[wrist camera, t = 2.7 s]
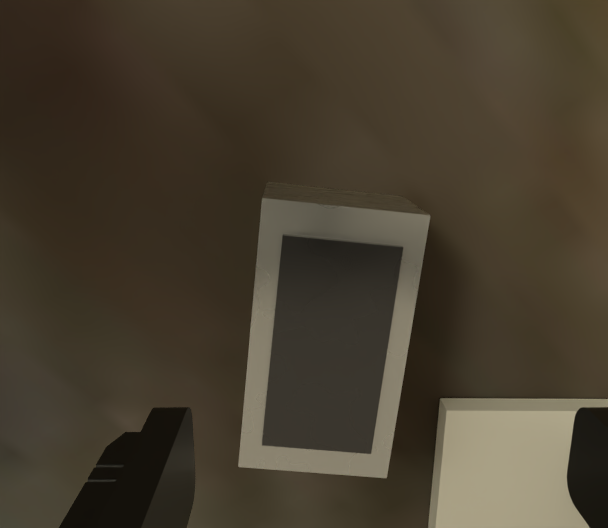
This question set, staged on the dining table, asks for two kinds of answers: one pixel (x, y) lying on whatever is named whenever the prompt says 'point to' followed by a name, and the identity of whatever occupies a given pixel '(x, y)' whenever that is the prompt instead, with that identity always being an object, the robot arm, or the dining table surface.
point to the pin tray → (504, 463)
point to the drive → (330, 328)
